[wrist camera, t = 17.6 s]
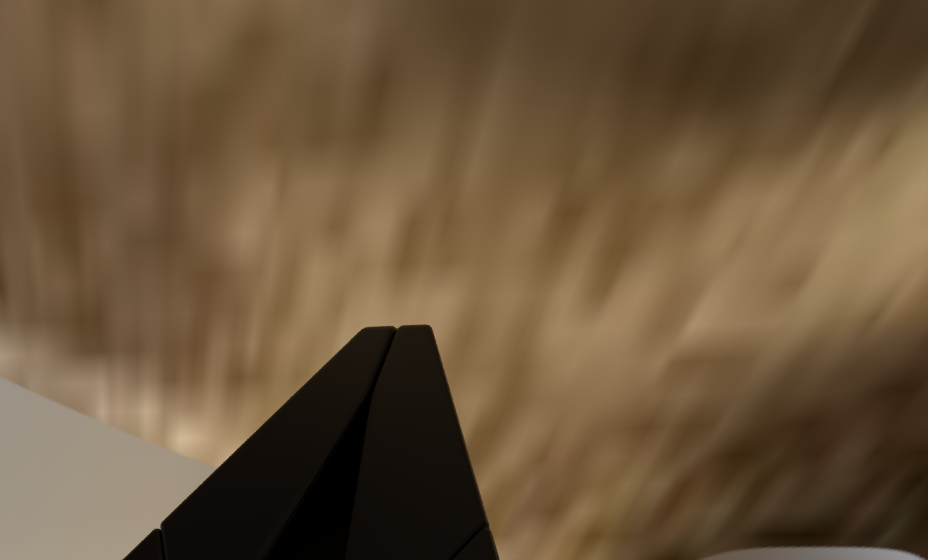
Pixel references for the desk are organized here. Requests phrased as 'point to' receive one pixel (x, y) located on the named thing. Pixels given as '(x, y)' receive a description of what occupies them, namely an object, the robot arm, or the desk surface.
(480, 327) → the desk surface
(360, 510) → the robot arm
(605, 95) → the desk surface
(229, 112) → the desk surface
